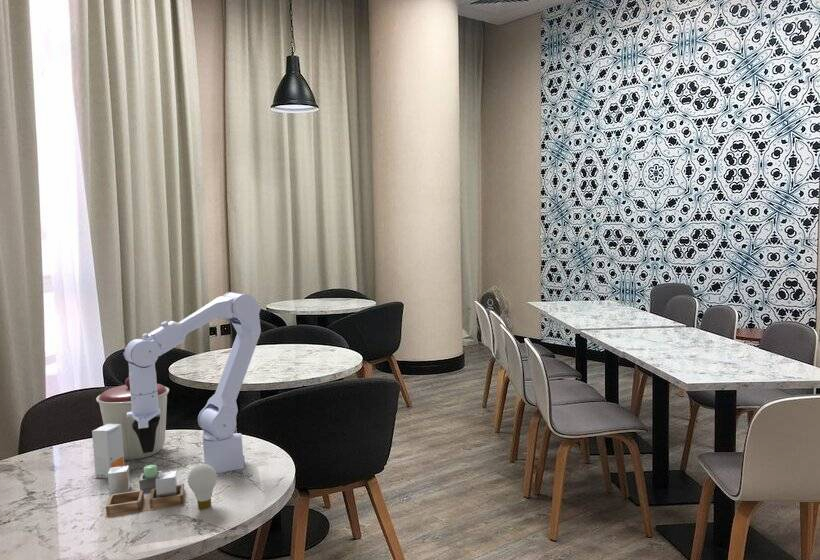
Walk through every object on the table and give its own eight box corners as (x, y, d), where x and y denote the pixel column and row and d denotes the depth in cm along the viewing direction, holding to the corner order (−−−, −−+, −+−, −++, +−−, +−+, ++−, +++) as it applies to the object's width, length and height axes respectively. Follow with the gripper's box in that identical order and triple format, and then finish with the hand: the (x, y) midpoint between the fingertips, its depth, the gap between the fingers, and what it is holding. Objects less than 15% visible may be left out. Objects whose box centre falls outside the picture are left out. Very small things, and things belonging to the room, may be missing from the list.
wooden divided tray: (185, 494, 153) (184, 482, 152) (184, 509, 145) (183, 496, 144) (110, 505, 148) (109, 493, 148) (105, 521, 140) (104, 508, 140)
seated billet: (177, 494, 150) (175, 470, 149) (177, 501, 146) (175, 477, 146) (158, 497, 149) (156, 473, 148) (157, 504, 145) (155, 480, 144)
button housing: (163, 485, 159) (162, 470, 159) (161, 492, 154) (160, 477, 154) (142, 488, 158) (141, 473, 157) (140, 495, 153) (139, 480, 153)
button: (158, 480, 158) (157, 464, 157) (157, 485, 155) (156, 468, 155) (145, 482, 157) (144, 465, 156) (144, 486, 154) (143, 469, 154)
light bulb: (203, 519, 139) (199, 472, 138) (184, 513, 142) (180, 467, 141) (225, 508, 144) (222, 462, 143) (206, 503, 147) (202, 458, 146)
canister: (125, 442, 192) (119, 369, 190) (185, 442, 190) (179, 368, 188) (86, 465, 175) (79, 385, 173) (152, 466, 172) (145, 384, 170)
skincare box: (110, 479, 164) (106, 431, 163) (95, 478, 165) (90, 430, 164) (126, 470, 170) (122, 423, 169) (110, 469, 171) (106, 423, 170)
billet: (130, 488, 157) (129, 465, 156) (129, 494, 153) (127, 471, 152) (112, 491, 155) (110, 467, 155) (109, 497, 152) (107, 473, 151)
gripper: (128, 386, 160) (133, 443, 161) (121, 402, 146) (126, 463, 147) (160, 383, 162) (164, 439, 163) (155, 398, 148) (160, 458, 149)
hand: (148, 450), depth 155 cm, fingers closed
